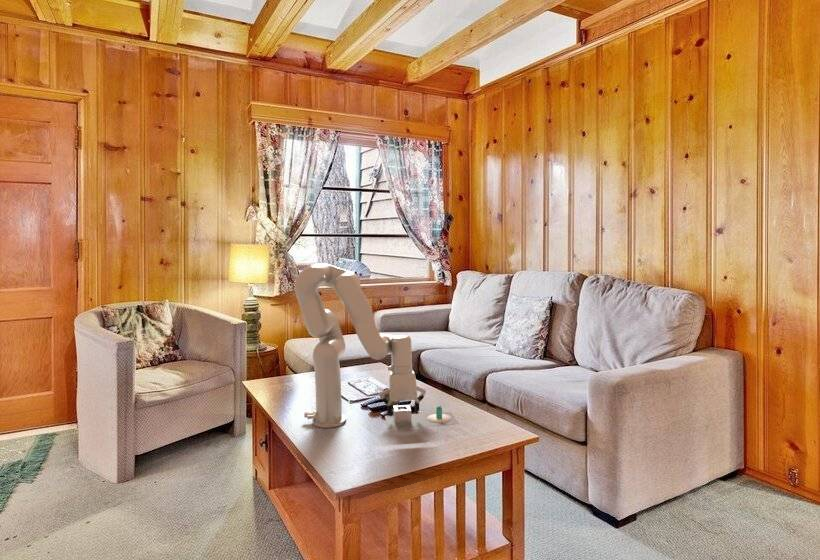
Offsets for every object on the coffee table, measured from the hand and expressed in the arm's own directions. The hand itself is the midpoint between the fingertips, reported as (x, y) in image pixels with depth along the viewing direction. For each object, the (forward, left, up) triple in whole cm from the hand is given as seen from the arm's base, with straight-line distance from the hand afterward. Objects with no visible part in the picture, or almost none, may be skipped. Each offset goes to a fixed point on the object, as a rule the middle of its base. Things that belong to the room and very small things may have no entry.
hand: (403, 413), depth 189 cm
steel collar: (-1, 0, -3) cm, 3 cm away
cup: (-3, +17, -4) cm, 18 cm away
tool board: (+6, 0, -4) cm, 8 cm away
